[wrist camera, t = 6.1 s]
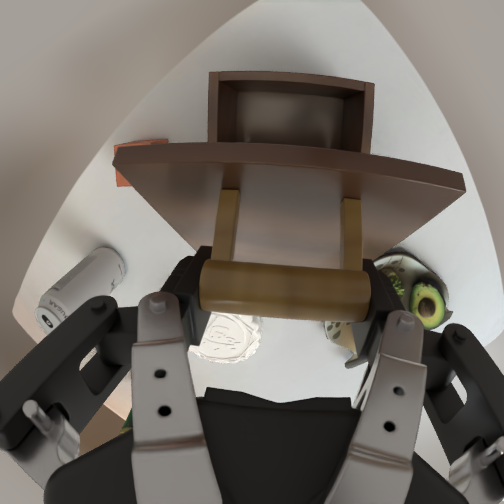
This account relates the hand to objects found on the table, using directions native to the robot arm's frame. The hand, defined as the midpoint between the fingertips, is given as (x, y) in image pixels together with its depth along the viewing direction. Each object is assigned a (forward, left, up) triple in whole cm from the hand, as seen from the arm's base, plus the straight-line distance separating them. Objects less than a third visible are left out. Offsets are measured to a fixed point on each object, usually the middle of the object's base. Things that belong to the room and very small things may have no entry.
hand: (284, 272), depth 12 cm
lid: (0, 0, -5) cm, 5 cm away
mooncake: (+17, -14, -21) cm, 31 cm away
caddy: (-2, +1, -21) cm, 21 cm away
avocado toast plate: (+21, +10, -21) cm, 31 cm away
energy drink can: (+4, -27, -21) cm, 35 cm away
